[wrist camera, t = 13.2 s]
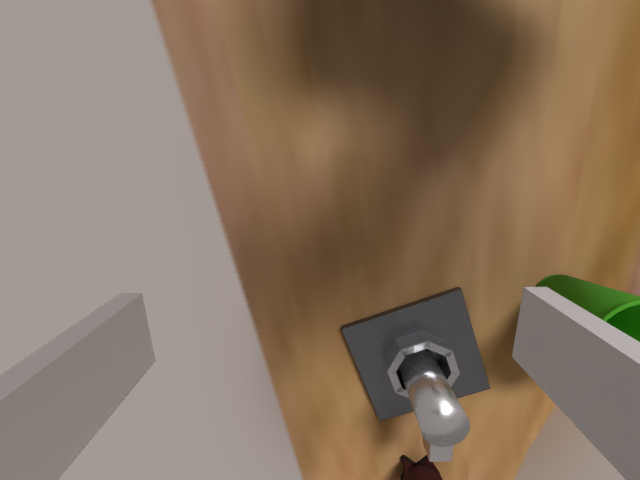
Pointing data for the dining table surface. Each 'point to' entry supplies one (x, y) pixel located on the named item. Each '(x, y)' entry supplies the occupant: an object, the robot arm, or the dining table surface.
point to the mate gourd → (419, 470)
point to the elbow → (434, 405)
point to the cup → (600, 302)
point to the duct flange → (416, 349)
